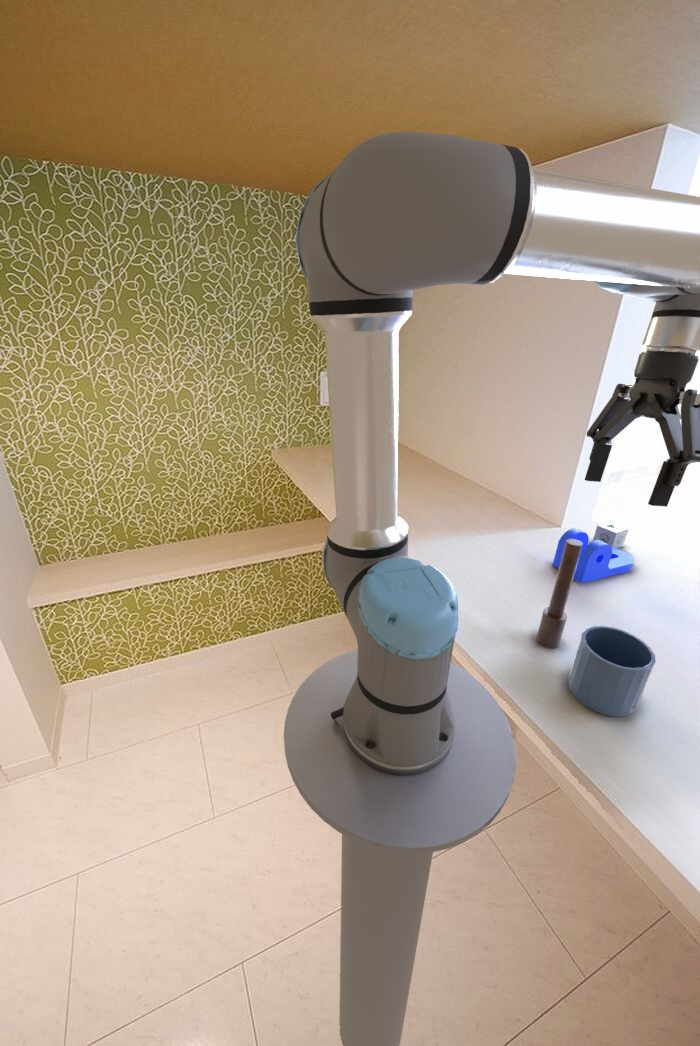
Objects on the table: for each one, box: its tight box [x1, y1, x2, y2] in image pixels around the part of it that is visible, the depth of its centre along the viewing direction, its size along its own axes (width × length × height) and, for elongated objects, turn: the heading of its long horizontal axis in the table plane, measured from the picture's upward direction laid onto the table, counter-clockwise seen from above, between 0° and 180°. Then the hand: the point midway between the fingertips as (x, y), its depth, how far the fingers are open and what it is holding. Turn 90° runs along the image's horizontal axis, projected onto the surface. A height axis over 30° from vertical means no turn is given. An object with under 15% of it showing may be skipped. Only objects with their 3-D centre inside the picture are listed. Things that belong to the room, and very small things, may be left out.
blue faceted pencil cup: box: [567, 625, 657, 718], centre depth 65 cm, size 9×9×9 cm
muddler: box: [536, 539, 583, 649], centre depth 73 cm, size 4×4×20 cm
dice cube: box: [592, 520, 629, 549], centre depth 110 cm, size 5×5×5 cm
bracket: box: [552, 527, 635, 584], centre depth 99 cm, size 18×8×9 cm, turn 111°
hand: (621, 492), depth 70 cm, fingers open, 13 cm apart
